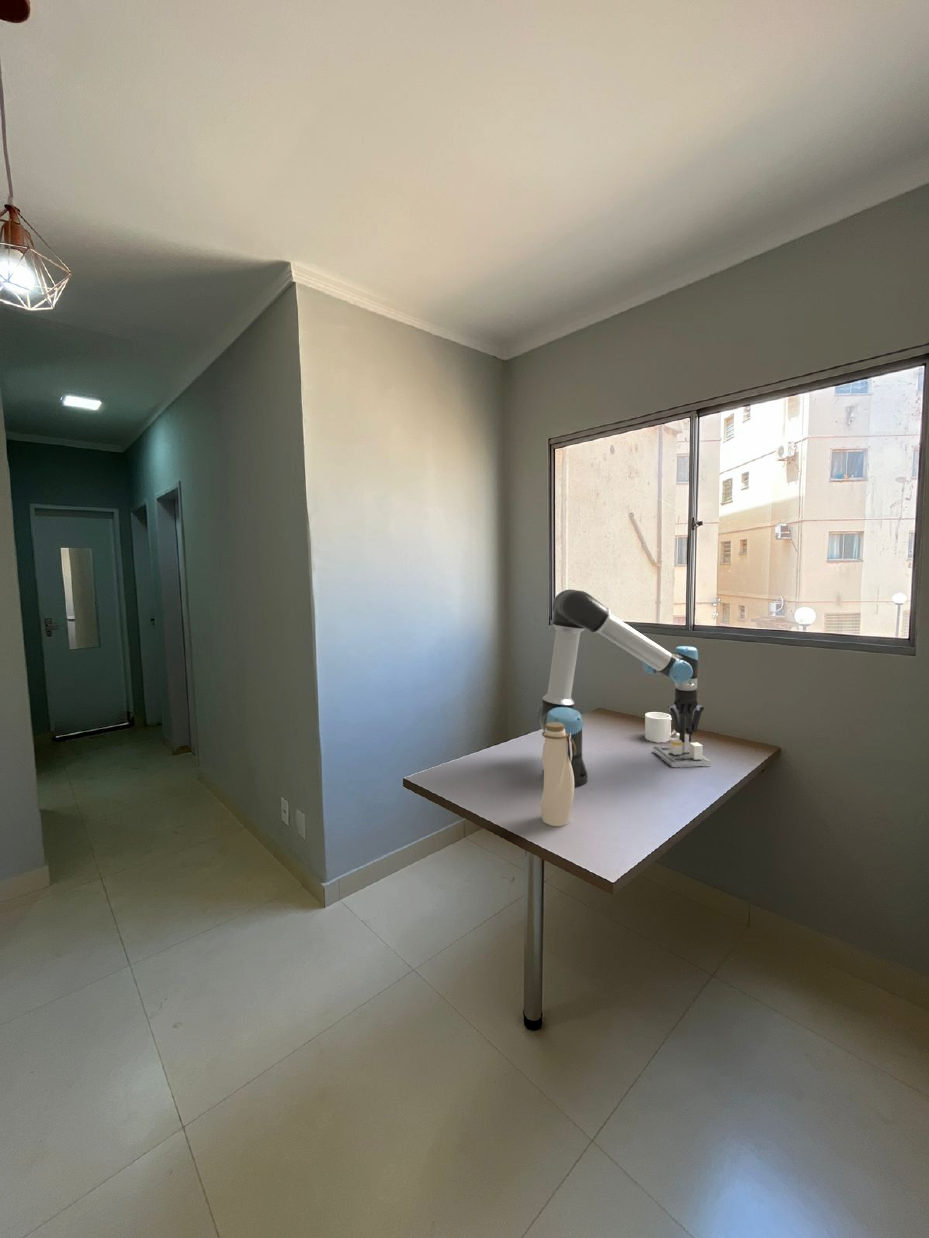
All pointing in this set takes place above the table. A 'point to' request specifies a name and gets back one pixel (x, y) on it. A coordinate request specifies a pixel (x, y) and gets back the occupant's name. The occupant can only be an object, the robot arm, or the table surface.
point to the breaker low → (696, 751)
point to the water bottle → (557, 775)
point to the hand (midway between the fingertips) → (684, 750)
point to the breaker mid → (675, 746)
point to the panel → (679, 758)
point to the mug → (658, 726)
